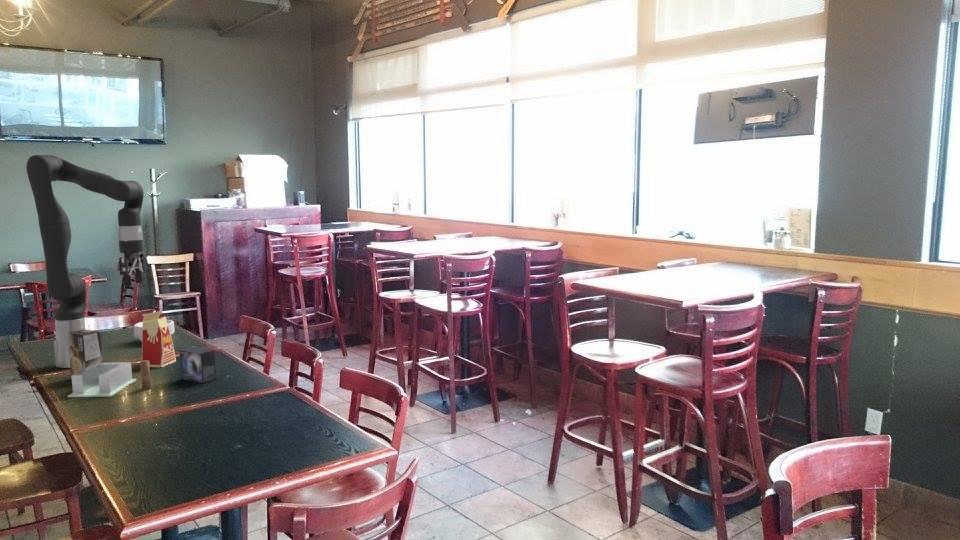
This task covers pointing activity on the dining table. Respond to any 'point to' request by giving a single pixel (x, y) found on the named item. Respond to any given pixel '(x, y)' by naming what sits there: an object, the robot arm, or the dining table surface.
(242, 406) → the dining table surface
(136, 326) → the paper bowls
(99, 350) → the coffee box
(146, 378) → the stand
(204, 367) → the small box
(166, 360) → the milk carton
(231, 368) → the dining table surface
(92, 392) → the mat
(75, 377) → the c link
